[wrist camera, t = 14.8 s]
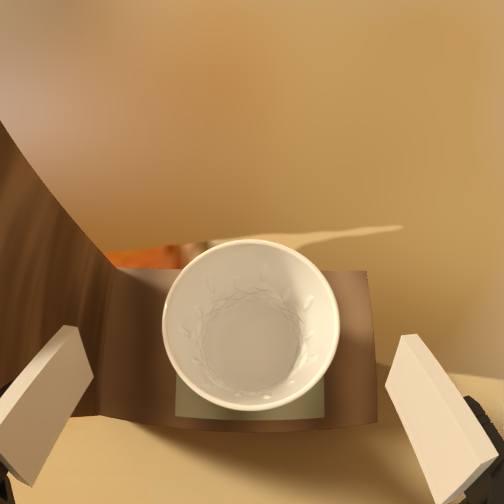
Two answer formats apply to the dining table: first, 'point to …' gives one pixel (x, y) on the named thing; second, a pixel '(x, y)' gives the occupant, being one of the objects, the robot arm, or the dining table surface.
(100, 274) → the walnut shelf
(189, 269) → the white cup
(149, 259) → the dining table surface
